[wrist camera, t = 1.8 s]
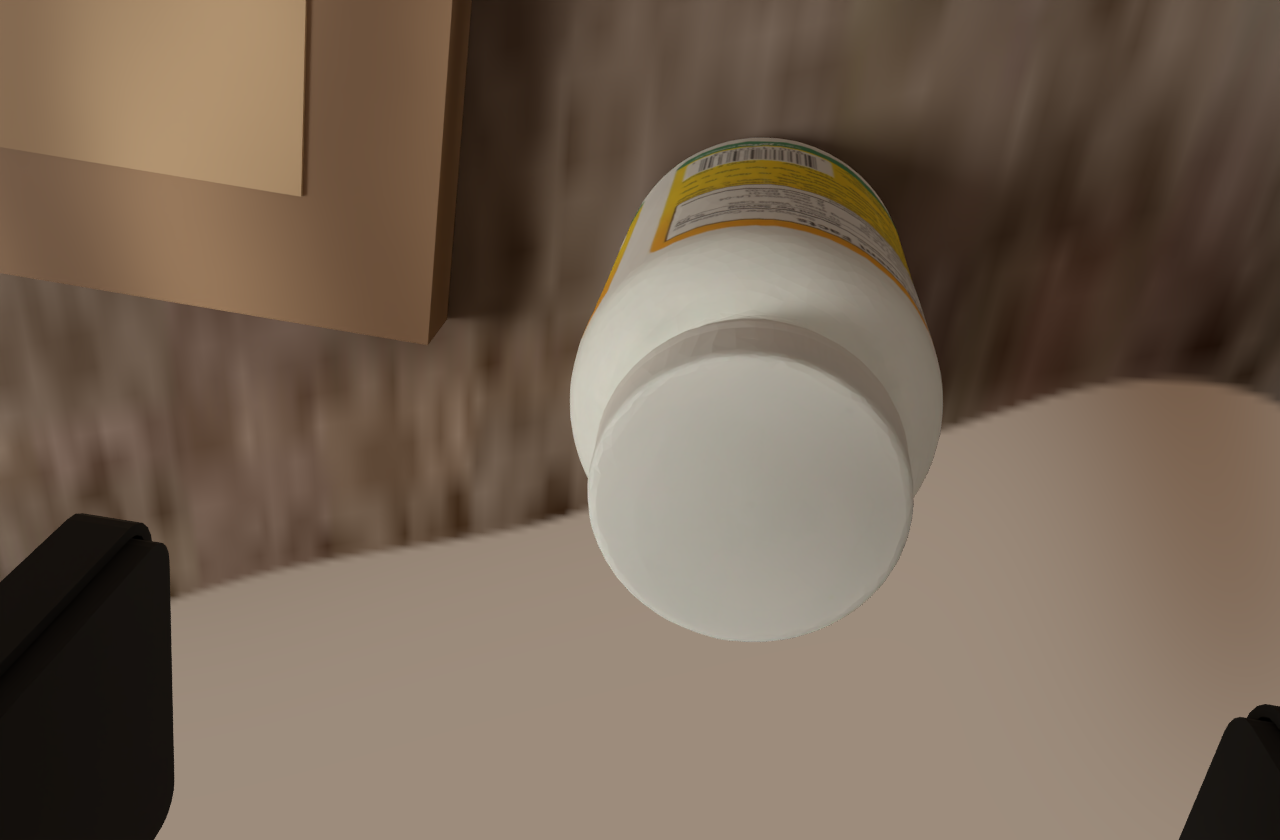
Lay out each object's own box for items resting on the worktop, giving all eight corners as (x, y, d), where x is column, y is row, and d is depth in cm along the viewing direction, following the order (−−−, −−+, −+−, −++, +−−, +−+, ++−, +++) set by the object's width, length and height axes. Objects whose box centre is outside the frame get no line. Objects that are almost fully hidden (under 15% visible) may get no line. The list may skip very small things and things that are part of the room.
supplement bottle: (773, 71, 22) (773, 194, 13) (959, 283, 23) (1073, 526, 14) (564, 263, 24) (444, 485, 15) (747, 450, 25) (733, 755, 16)
